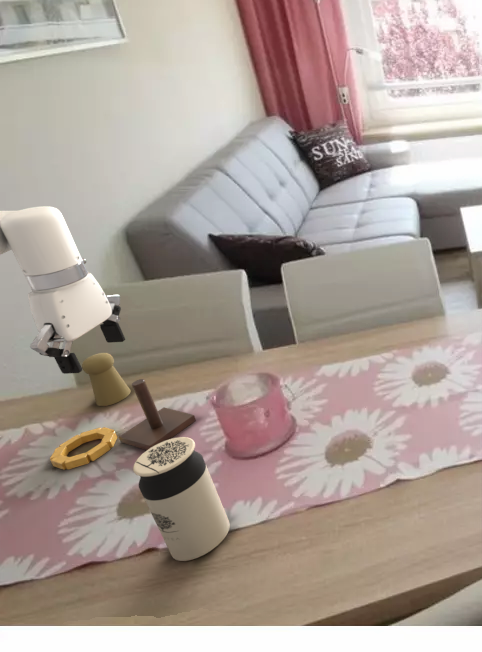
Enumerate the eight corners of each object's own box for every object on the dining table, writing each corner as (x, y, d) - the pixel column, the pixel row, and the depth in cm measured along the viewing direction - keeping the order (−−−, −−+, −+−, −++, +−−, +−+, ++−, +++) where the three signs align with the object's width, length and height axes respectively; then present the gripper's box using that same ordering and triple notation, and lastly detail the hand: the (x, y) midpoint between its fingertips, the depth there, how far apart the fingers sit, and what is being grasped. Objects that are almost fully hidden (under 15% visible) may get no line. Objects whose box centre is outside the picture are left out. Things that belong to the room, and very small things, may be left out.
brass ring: (74, 473, 101) (71, 467, 100) (43, 463, 104) (39, 457, 103) (127, 438, 109) (124, 432, 109) (96, 430, 112) (93, 424, 111)
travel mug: (215, 510, 92) (181, 428, 85) (240, 530, 88) (206, 446, 82) (162, 547, 86) (120, 462, 79) (186, 571, 82) (144, 484, 75)
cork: (98, 410, 118) (78, 368, 114) (94, 398, 122) (75, 358, 118) (132, 396, 122) (114, 355, 118) (128, 385, 126) (110, 345, 122)
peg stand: (152, 451, 106) (129, 400, 101) (121, 442, 108) (97, 392, 104) (196, 420, 113) (176, 372, 109) (166, 412, 116) (145, 365, 111)
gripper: (79, 256, 103) (113, 331, 109) (-14, 301, 87) (31, 387, 93) (118, 254, 103) (150, 330, 109) (32, 299, 87) (75, 384, 93)
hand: (95, 356), depth 101 cm, fingers open, 9 cm apart
